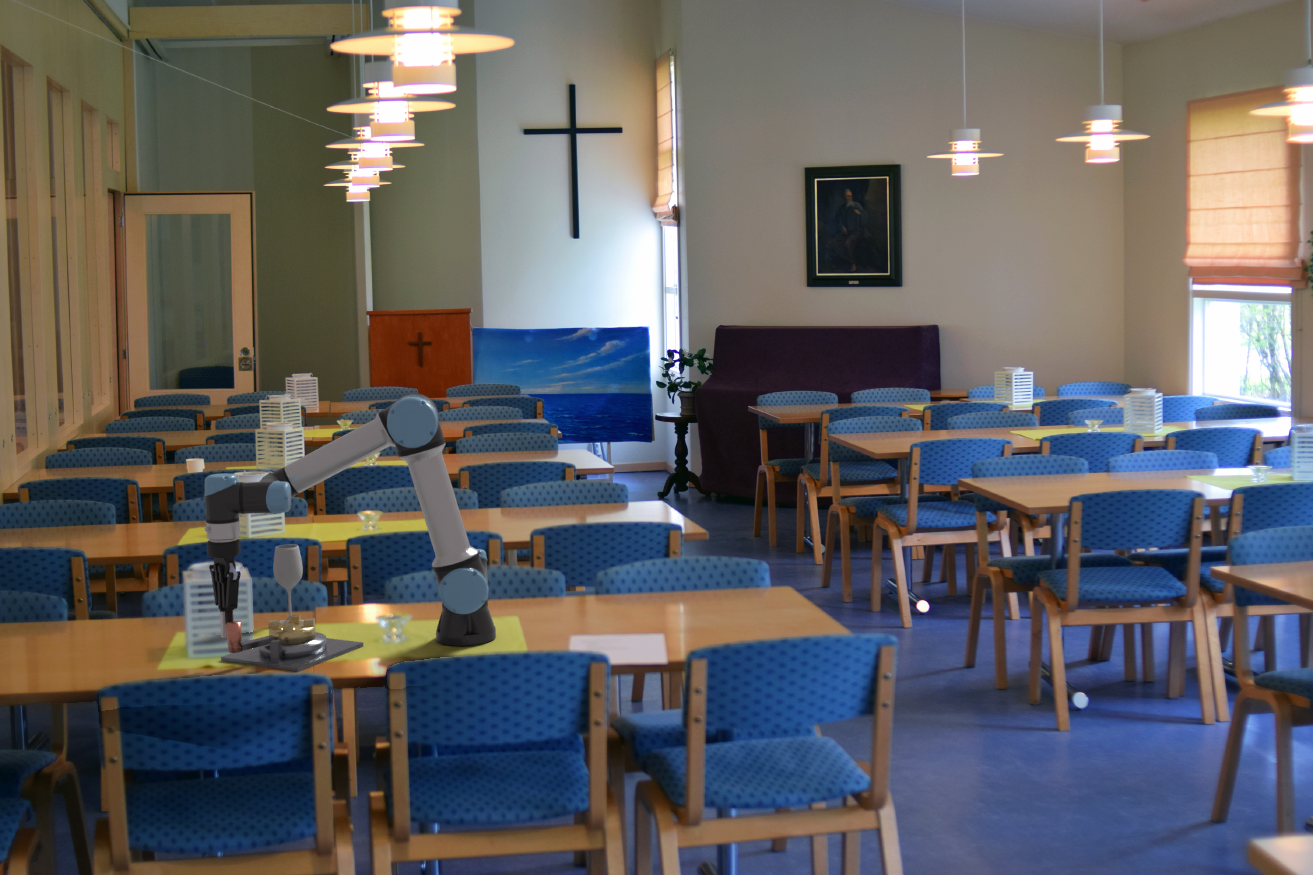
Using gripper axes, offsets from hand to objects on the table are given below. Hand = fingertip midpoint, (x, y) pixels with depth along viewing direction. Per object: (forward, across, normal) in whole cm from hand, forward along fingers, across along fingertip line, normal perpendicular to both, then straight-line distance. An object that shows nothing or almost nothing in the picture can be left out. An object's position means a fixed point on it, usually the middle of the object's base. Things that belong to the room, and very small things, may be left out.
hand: (227, 636), depth 312 cm
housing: (+7, +1, +16) cm, 17 cm away
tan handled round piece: (+3, +2, +10) cm, 11 cm away
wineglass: (+8, -29, +29) cm, 42 cm away
